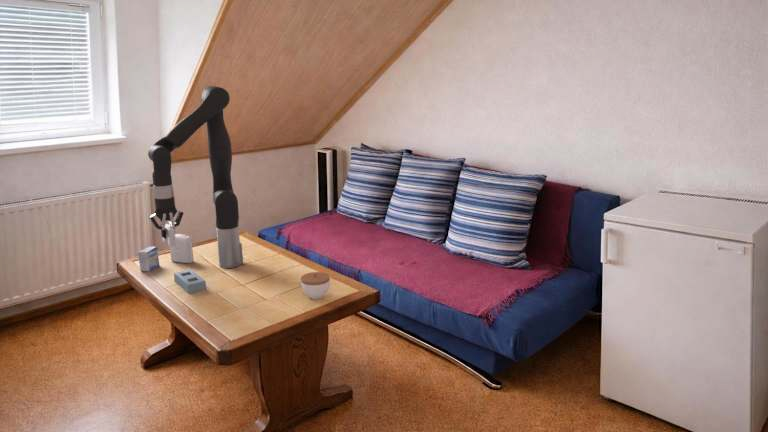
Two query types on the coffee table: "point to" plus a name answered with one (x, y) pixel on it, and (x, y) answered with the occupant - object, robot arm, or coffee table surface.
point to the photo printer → (182, 249)
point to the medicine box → (148, 258)
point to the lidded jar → (315, 284)
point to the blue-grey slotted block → (190, 281)
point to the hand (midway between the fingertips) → (168, 237)
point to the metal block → (170, 236)
